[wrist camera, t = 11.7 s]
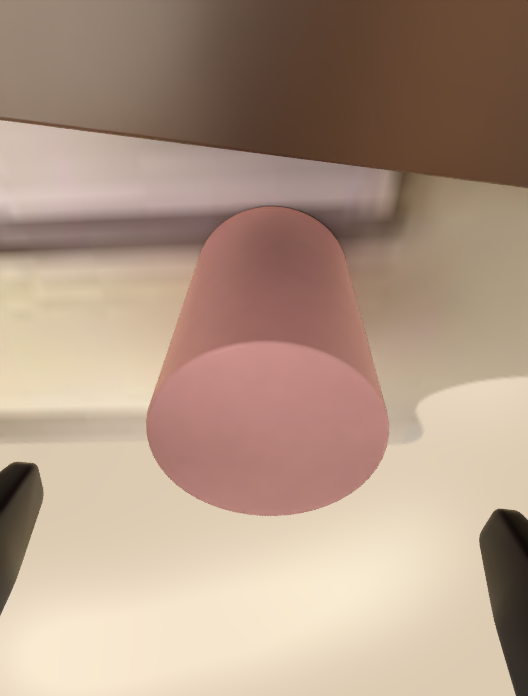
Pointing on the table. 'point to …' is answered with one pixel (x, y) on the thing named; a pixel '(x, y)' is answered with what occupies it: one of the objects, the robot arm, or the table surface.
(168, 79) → the cabinet
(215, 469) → the pink cylinder
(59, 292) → the table surface
